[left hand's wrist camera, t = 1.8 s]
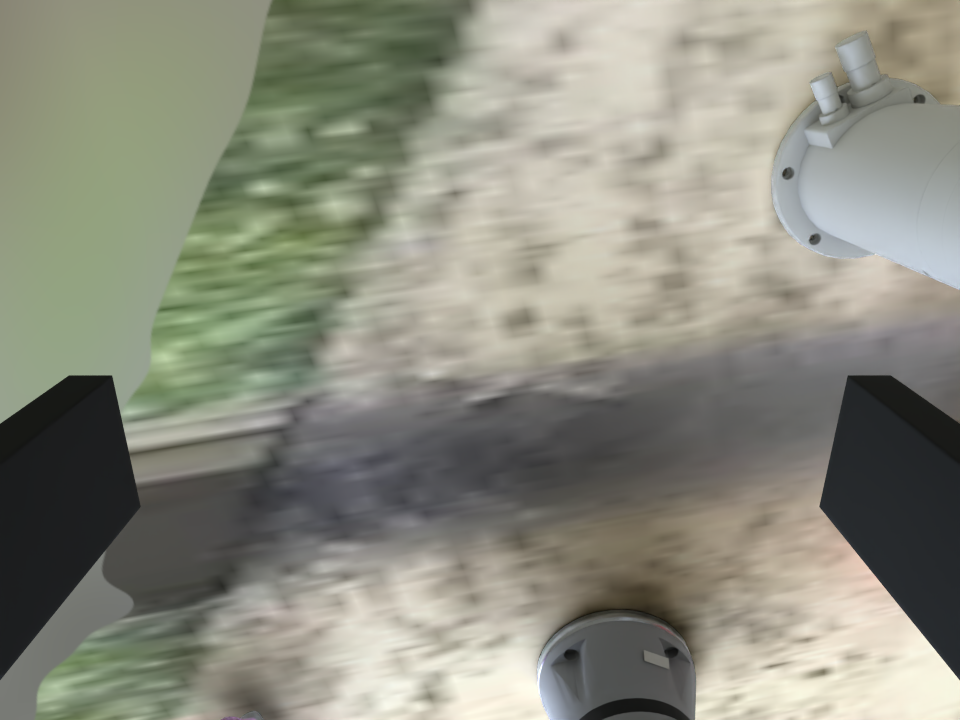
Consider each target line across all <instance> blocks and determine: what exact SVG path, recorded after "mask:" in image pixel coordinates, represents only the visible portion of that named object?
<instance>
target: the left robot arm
mask: <svg viewBox="0 0 960 720" xmlns="http://www.w3.org/2000/svg"><path fill="white" fill-rule="evenodd" d="M140 507H141V506H140V502H139V497H138V493H137V488H136V483H135V479H134V474H133V470H132V465H131V460H130V456H129V451H128V447H127V442H126V437H125V433H124V428H123V424H122V419H121V414H120V410H119V405H118V401H117V396H116V391H115V387H114V382H113V378H112V376H68V377H66V378H65V379H63V380H62V381H61V382H59V383H58V384H56V385H55V386H53V387H52V388H51V389H49V390H48V391H46V392H45V393H43V394H42V395H41V396H39V397H38V398H36V399H35V400H33V401H32V402H31V403H29V404H28V405H26V406H25V407H24V408H22V409H21V410H19V411H18V412H16V413H15V414H14V415H12V416H11V417H9V418H8V419H6V420H5V421H4V422H2V423H1V424H0V680H1V678H2V677H3V676H4V675H5V673H6V672H7V671H8V670H9V669H10V667H11V666H12V665H13V664H14V662H15V661H16V660H17V659H18V657H19V656H20V655H21V654H22V653H23V651H24V650H25V649H26V648H27V646H28V645H29V644H30V643H31V641H32V640H33V639H34V638H35V637H36V635H37V634H38V633H39V631H40V630H41V629H42V628H43V627H44V625H45V624H46V623H47V622H48V620H49V619H50V618H51V617H52V616H53V614H54V613H55V612H56V611H57V609H58V608H59V607H60V606H61V604H62V603H63V602H64V601H65V599H66V598H67V597H68V596H69V595H70V593H71V592H72V591H73V590H74V588H75V587H76V586H77V585H78V583H79V582H80V581H81V580H82V578H83V577H84V576H85V575H86V574H87V572H88V571H89V570H90V569H91V567H92V566H93V565H94V564H95V562H96V561H97V560H98V559H99V557H100V556H101V555H102V554H103V553H104V551H105V550H106V549H107V548H108V546H109V545H110V544H111V543H112V541H113V540H114V539H115V538H116V536H117V535H118V534H119V533H120V532H121V530H122V529H123V528H124V527H125V525H126V524H127V523H128V522H129V520H130V519H131V518H132V517H133V516H134V514H135V513H136V512H137V511H138V509H139V508H140ZM819 507H820V508H821V509H822V511H823V512H824V513H825V514H826V516H827V517H828V518H829V519H830V520H831V522H832V523H833V524H834V525H835V527H836V528H837V529H838V530H839V532H840V533H841V534H842V535H843V537H844V538H845V539H846V540H847V541H848V543H849V544H850V545H851V546H852V548H853V549H854V550H855V551H856V553H857V554H858V555H859V556H860V557H861V559H862V560H863V561H864V562H865V564H866V565H867V566H868V567H869V569H870V570H871V571H872V572H873V574H874V575H875V576H876V577H877V578H878V580H879V581H880V582H881V583H882V585H883V586H884V587H885V588H886V590H887V591H888V592H889V593H890V595H891V596H892V597H893V598H894V599H895V601H896V602H897V603H898V604H899V606H900V607H901V608H902V609H903V611H904V612H905V613H906V614H907V616H908V617H909V618H910V619H911V620H912V622H913V623H914V624H915V625H916V627H917V628H918V629H919V630H920V632H921V633H922V634H923V635H924V637H925V638H926V639H927V640H928V641H929V643H930V644H931V645H932V646H933V648H934V649H935V650H936V651H937V653H938V654H939V655H940V656H941V658H942V659H943V660H944V661H945V662H946V664H947V665H948V666H949V667H950V669H951V670H952V671H953V672H954V674H955V675H956V676H957V677H958V679H959V680H960V424H959V423H958V422H956V421H955V420H954V419H952V418H951V417H949V416H948V415H946V414H945V413H944V412H942V411H941V410H939V409H938V408H936V407H935V406H934V405H932V404H931V403H929V402H928V401H927V400H925V399H924V398H922V397H921V396H919V395H918V394H917V393H915V392H914V391H912V390H911V389H909V388H908V387H907V386H905V385H904V384H902V383H901V382H899V381H898V380H897V379H895V378H894V377H892V376H848V378H847V382H846V387H845V391H844V396H843V401H842V405H841V410H840V414H839V419H838V424H837V428H836V433H835V437H834V442H833V447H832V451H831V456H830V460H829V465H828V470H827V474H826V479H825V483H824V488H823V493H822V497H821V502H820V506H819ZM537 679H538V689H539V694H540V697H541V701H542V704H543V707H544V709H545V711H546V713H547V715H548V717H549V719H550V720H695V702H696V674H695V667H694V663H693V660H692V657H691V654H690V652H689V649H688V646H687V644H686V642H685V641H684V639H683V638H682V636H681V635H680V634H679V633H678V631H676V630H675V629H674V628H673V627H672V626H671V625H669V624H668V623H666V622H665V621H663V620H661V619H659V618H657V617H655V616H652V615H650V614H646V613H643V612H638V611H632V610H608V611H601V612H596V613H592V614H589V615H586V616H583V617H581V618H578V619H576V620H574V621H572V622H571V623H569V624H567V625H566V626H564V627H563V628H561V629H560V630H559V631H558V632H557V633H555V634H554V636H553V637H552V638H551V639H550V640H549V641H548V643H547V644H546V645H545V647H544V649H543V651H542V653H541V655H540V658H539V661H538V666H537Z"/></svg>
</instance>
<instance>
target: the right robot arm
mask: <svg viewBox="0 0 960 720" xmlns="http://www.w3.org/2000/svg"><path fill="white" fill-rule="evenodd" d="M835 48H836V51H837V54H838V56H839V59H840V62H841V65H842V67H843V70H844V72H846V74H847V76H848V79H849V83H846V84H844V85H841V86H839V87H837V86H836V84H835V81H834V78H833V75H832V73H831V72H827V73H824V74H822V75H820V76H818V77H816V78H814V79H813V80H811V81H810V82H809V83H810V85H811V88H812V91H813V93H814V96H815V98H816V100H815V101H814V102H813V103H812V104H811V105H810V106H809V107H807V108H806V109H805V110H804V111H803V112H802V113H801V114H800V116H799V117H798V118H797V119H796V120H795V122H794V123H793V124H792V125H791V127H790V128H789V130H788V132H787V133H786V135H785V137H784V139H783V140H782V142H781V144H780V147H779V150H778V152H777V155H776V158H775V161H774V166H773V171H772V189H771V193H772V198H773V203H774V208H775V211H776V213H777V215H778V218H779V220H780V222H781V224H782V225H783V227H784V228H785V229H786V231H787V232H788V234H789V235H790V236H792V237H793V238H794V239H795V240H796V241H797V242H798V243H800V244H801V245H803V246H805V247H806V248H808V249H810V250H812V251H814V252H817V253H819V254H822V255H824V256H829V257H834V258H840V259H842V258H860V257H865V256H871V255H874V254H877V255H879V256H881V257H884V258H886V259H888V260H891V261H893V262H895V263H898V264H900V265H902V266H905V267H907V268H909V269H912V270H914V271H916V272H919V273H921V274H923V275H926V276H928V277H930V278H933V279H935V280H937V281H940V282H942V283H944V284H947V285H949V286H951V287H954V288H956V289H959V290H960V105H942V104H940V103H939V102H938V101H937V100H936V99H935V98H934V97H933V96H932V95H931V94H930V93H929V92H928V91H926V90H924V89H923V88H921V87H920V86H918V85H916V84H914V83H911V82H908V81H904V80H901V79H894V78H889V77H888V75H886V74H883V75H880V72H879V69H878V66H877V63H876V60H875V58H876V56H875V53H874V50H873V47H872V44H871V41H870V39H869V36H868V33H867V31H862V32H859V33H856V34H854V35H852V36H850V37H848V38H846V39H844V40H843V41H841V42H840V43H838V44H837V45H836V46H835ZM913 99H914V100H913ZM784 169H786V174H785V175H783V176H782V172H783V170H784ZM812 234H813V237H812V239H811V240H809V238H810V236H811V235H812Z"/></svg>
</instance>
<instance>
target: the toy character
mask: <svg viewBox="0 0 960 720" xmlns="http://www.w3.org/2000/svg"><path fill="white" fill-rule="evenodd" d="M221 720H263V718H262V716H261V715H260V713H258V712H256V711H251V712H248V713H246V714H245V715H243V716H242V717H241V718H237V717H224V718H223V719H221Z"/></svg>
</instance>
